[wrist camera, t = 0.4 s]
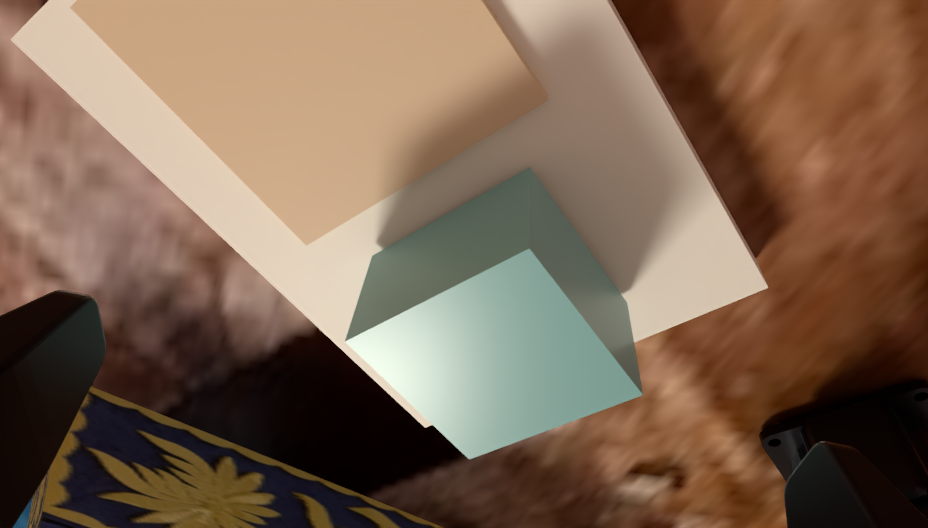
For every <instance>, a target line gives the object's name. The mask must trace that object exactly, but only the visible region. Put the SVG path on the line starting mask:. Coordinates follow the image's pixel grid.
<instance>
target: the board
mask: <svg viewBox="0 0 928 528" xmlns="http://www.w3.org/2000/svg"><path fill="white" fill-rule="evenodd" d="M11 41H12V42H13V43H15V44H16V45H17V46H18V47H19V48H20V49H21V50H22V51H23V52H24V53H25V54H26V55H27V56H28V57H29V58H31V59H32V60H33V61H34V62H35V63H36V64H37V65H38V66H39V67H40V68H41V69H42V70H43V71H44V72H45V73H47V74H48V75H49V76H50V77H51V78H52V79H53V80H54V81H55V82H56V83H57V84H58V85H59V86H60V87H62V88H63V89H64V90H65V91H66V92H67V93H68V94H69V95H70V96H71V97H72V98H73V99H74V100H75V101H76V102H78V103H79V104H80V105H81V106H82V107H83V108H84V109H85V110H86V111H87V112H88V113H89V114H90V115H91V116H92V117H94V118H95V119H96V120H97V121H98V122H99V123H100V124H101V125H102V126H103V127H104V128H105V129H106V130H107V131H109V132H110V133H111V134H112V135H113V136H114V137H115V138H116V139H117V140H118V141H119V142H120V143H121V144H122V145H123V146H125V147H126V148H127V149H128V150H129V151H130V152H131V153H132V154H133V155H134V156H135V157H136V158H137V159H138V160H139V161H141V162H142V163H143V164H144V165H145V166H146V167H147V168H148V169H149V170H150V171H151V172H152V173H153V174H154V175H156V176H157V177H158V178H159V179H160V180H161V181H162V182H163V183H164V184H165V185H166V186H167V187H168V188H169V189H170V190H172V191H173V192H174V193H175V194H176V195H177V196H178V197H179V198H180V199H181V200H182V201H183V202H184V203H185V204H186V205H188V206H189V207H190V208H191V209H192V210H193V211H194V212H195V213H196V214H197V215H198V216H199V217H200V218H201V219H203V220H204V221H205V222H206V223H207V224H208V225H209V226H210V227H211V228H212V229H213V230H214V231H215V232H216V233H217V234H219V235H220V236H221V237H222V238H223V239H224V240H225V241H226V242H227V243H228V244H229V245H230V246H231V247H232V248H233V249H235V250H236V251H237V252H238V253H239V254H240V255H241V256H242V257H243V258H244V259H245V260H246V261H247V262H248V263H249V264H251V265H252V266H253V267H254V268H255V269H256V270H257V271H258V272H259V273H260V274H261V275H262V276H263V277H264V278H266V279H267V280H268V281H269V282H270V283H271V284H272V285H273V286H274V287H275V288H276V289H277V290H278V291H279V292H280V293H282V294H283V295H284V296H285V297H286V298H287V299H288V300H289V301H290V302H291V303H292V304H293V305H294V306H295V307H296V308H298V309H299V310H300V311H301V312H302V313H303V314H304V315H305V316H306V317H307V318H308V319H309V320H310V321H311V322H313V323H314V324H315V325H316V326H317V327H318V328H319V329H320V330H321V331H322V332H323V333H324V334H325V335H326V336H327V337H329V338H330V339H331V340H332V341H333V342H334V343H335V344H336V345H337V346H338V347H339V348H340V349H341V350H342V351H343V352H345V353H346V354H347V355H348V356H349V357H350V358H351V359H352V360H353V361H354V362H355V363H356V364H357V365H358V366H360V367H361V368H362V369H363V370H364V371H365V372H366V373H367V374H368V375H369V376H370V377H371V378H372V379H373V380H374V381H376V382H377V383H378V384H379V385H380V386H381V387H382V388H383V389H384V390H385V391H386V392H387V393H388V394H389V395H390V396H392V397H393V398H394V399H395V400H396V401H397V402H398V403H399V404H400V405H401V406H402V407H403V408H404V409H405V410H407V411H408V412H409V413H410V414H411V415H412V416H413V417H414V418H415V419H416V420H417V421H418V422H419V423H420V424H421V425H423V426H424V427H425V428H426V427H429V426H431V425H432V424H431V423H430V422H429V421H428V420H427V419H426V418H425V417H424V416H423V415H422V414H420V413H419V412H418V411H417V410H416V409H415V408H414V407H413V406H412V405H411V404H410V403H409V402H408V401H407V400H406V399H405V398H404V397H403V396H402V395H400V394H399V393H398V392H397V391H396V390H395V389H394V388H393V387H392V386H391V385H390V384H389V383H388V382H387V381H386V380H385V379H384V378H383V377H381V376H380V375H379V374H378V373H377V372H376V371H375V370H374V369H373V368H372V367H371V366H370V365H369V364H368V363H367V362H366V361H365V360H364V359H362V358H361V357H360V356H359V355H358V354H357V353H356V352H355V351H354V350H353V349H352V348H351V347H350V346H349V345H348V344H347V343H346V342H345V339H346V336H347V333H348V330H349V327H350V324H351V321H352V317H353V314H354V311H355V308H356V305H357V302H358V299H359V295H360V292H361V289H362V286H363V283H364V280H365V277H366V274H367V270H368V267H369V264H370V261H371V258H372V256H373V255H375V254H376V253H378V252H380V251H382V250H383V249H385V248H387V247H389V246H391V245H392V244H394V243H396V242H398V241H399V240H401V239H403V238H405V237H407V236H408V235H410V234H412V233H414V232H415V231H417V230H419V229H421V228H423V227H424V226H426V225H428V224H430V223H431V222H433V221H435V220H437V219H439V218H440V217H442V216H444V215H446V214H447V213H449V212H451V211H453V210H455V209H456V208H458V207H460V206H462V205H463V204H465V203H467V202H469V201H471V200H472V199H474V198H476V197H478V196H479V195H481V194H483V193H485V192H487V191H488V190H490V189H492V188H494V187H495V186H497V185H499V184H501V183H503V182H504V181H506V180H508V179H510V178H511V177H513V176H515V175H517V174H519V173H520V172H522V171H524V170H526V169H527V168H529V167H530V168H531V169H532V171H533V172H534V173H535V175H536V176H537V178H538V179H539V180H540V182H541V183H542V185H543V186H544V187H545V189H546V190H547V192H548V193H549V194H550V196H551V197H552V199H553V200H554V201H555V203H556V204H557V205H558V207H559V208H560V210H561V211H562V212H563V214H564V215H565V217H566V218H567V219H568V221H569V222H570V224H571V225H572V226H573V228H574V229H575V231H576V232H577V233H578V235H579V236H580V238H581V239H582V240H583V242H584V243H585V245H586V246H587V247H588V249H589V250H590V252H591V253H592V254H593V256H594V257H595V258H596V260H597V261H598V263H599V264H600V265H601V267H602V268H603V270H604V271H605V272H606V274H607V275H608V277H609V278H610V279H611V281H612V282H613V284H614V285H615V286H616V288H617V289H618V291H619V292H620V293H621V295H622V296H623V298H624V299H625V300H626V302H627V304H628V310H629V316H630V322H631V328H632V334H633V339H634V342H637V341H639V340H642V339H644V338H646V337H649V336H651V335H654V334H656V333H659V332H661V331H664V330H666V329H669V328H671V327H673V326H676V325H678V324H681V323H683V322H686V321H688V320H691V319H693V318H695V317H698V316H700V315H703V314H705V313H708V312H710V311H713V310H715V309H717V308H720V307H722V306H725V305H727V304H730V303H732V302H735V301H737V300H740V299H742V298H744V297H747V296H749V295H752V294H754V293H757V292H759V291H762V290H764V289H766V288H768V286H767V283H766V281H765V279H764V276H763V274H762V272H761V270H760V267H759V265H758V263H757V260H756V259H755V257H754V255H753V253H752V251H751V250H750V248H749V246H748V244H747V242H746V241H745V239H744V237H743V235H742V233H741V232H740V230H739V228H738V226H737V224H736V223H735V221H734V219H733V217H732V216H731V214H730V212H729V210H728V208H727V207H726V205H725V203H724V201H723V199H722V198H721V196H720V194H719V192H718V190H717V189H716V187H715V185H714V183H713V181H712V180H711V178H710V176H709V174H708V172H707V171H706V169H705V167H704V165H703V164H702V162H701V160H700V158H699V156H698V155H697V153H696V151H695V149H694V147H693V146H692V144H691V142H690V140H689V138H688V137H687V135H686V133H685V131H684V129H683V128H682V126H681V124H680V122H679V121H678V119H677V117H676V115H675V113H674V112H673V110H672V108H671V106H670V104H669V103H668V101H667V99H666V97H665V95H664V94H663V92H662V90H661V88H660V86H659V85H658V83H657V81H656V79H655V77H654V76H653V74H652V72H651V70H650V69H649V67H648V65H647V63H646V61H645V60H644V58H643V56H642V54H641V52H640V51H639V49H638V47H637V45H636V43H635V42H634V40H633V38H632V36H631V34H630V33H629V31H628V29H627V27H626V26H625V24H624V22H623V20H622V18H621V17H620V15H619V13H618V11H617V9H616V8H615V6H614V4H613V2H612V0H49V1H48V2H47V3H46V4H45V5H44V6H43V7H42V8H41V9H40V10H39V11H38V12H37V13H36V14H35V15H34V16H33V17H32V18H31V19H30V20H29V21H28V22H27V23H26V24H25V25H24V26H23V27H22V28H21V29H20V30H19V31H18V32H17V34H16V35H15V36H14V37H13V38H12V39H11Z"/></svg>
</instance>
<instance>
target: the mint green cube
mask: <svg viewBox="0 0 928 528" xmlns="http://www.w3.org/2000/svg"><path fill="white" fill-rule="evenodd" d="M345 342H346V343H347V344H348V345H349V346H350V347H351V348H352V349H353V350H354V351H355V352H356V353H357V354H358V355H359V356H360V357H361V358H362V359H364V360H365V361H366V362H367V363H368V364H369V365H370V366H371V367H372V368H373V369H374V370H375V371H376V372H377V373H378V374H379V375H380V376H381V377H383V378H384V379H385V380H386V381H387V382H388V383H389V384H390V385H391V386H392V387H393V388H394V389H395V390H396V391H397V392H398V393H399V394H400V395H402V396H403V397H404V398H405V399H406V400H407V401H408V402H409V403H410V404H411V405H412V406H413V407H414V408H415V409H416V410H417V411H418V412H419V413H420V414H422V415H423V416H424V417H425V418H426V419H427V420H428V421H429V422H430V423H431V424H432V425H433V426H434V427H435V428H436V429H437V430H438V431H439V432H441V433H442V434H443V435H444V436H445V437H446V438H447V439H448V440H449V441H450V442H451V443H452V444H453V445H454V446H455V447H456V448H457V449H458V450H460V451H461V452H462V453H463V454H464V455H465V456H466V457H467V458H468V459H469V460H470V459H472V458H475V457H478V456H480V455H483V454H486V453H488V452H491V451H494V450H496V449H499V448H502V447H505V446H507V445H510V444H513V443H515V442H518V441H521V440H523V439H526V438H529V437H531V436H534V435H537V434H540V433H542V432H545V431H548V430H550V429H553V428H556V427H558V426H561V425H564V424H566V423H569V422H572V421H574V420H577V419H580V418H583V417H585V416H588V415H591V414H593V413H596V412H599V411H601V410H604V409H607V408H609V407H612V406H615V405H617V404H620V403H623V402H626V401H628V400H631V399H634V398H636V397H639V396H642V395H643V392H642V386H641V380H640V374H639V369H638V363H637V357H636V351H635V345H634V339H633V334H632V328H631V322H630V316H629V310H628V304H627V302H626V300H625V299H624V298H623V296H622V295H621V293H620V292H619V291H618V289H617V288H616V286H615V285H614V284H613V282H612V281H611V279H610V278H609V277H608V275H607V274H606V272H605V271H604V270H603V268H602V267H601V265H600V264H599V263H598V261H597V260H596V258H595V257H594V256H593V254H592V253H591V252H590V250H589V249H588V247H587V246H586V245H585V243H584V242H583V240H582V239H581V238H580V236H579V235H578V233H577V232H576V231H575V229H574V228H573V226H572V225H571V224H570V222H569V221H568V219H567V218H566V217H565V215H564V214H563V212H562V211H561V210H560V208H559V207H558V205H557V204H556V203H555V201H554V200H553V199H552V197H551V196H550V194H549V193H548V192H547V190H546V189H545V187H544V186H543V185H542V183H541V182H540V180H539V179H538V178H537V176H536V175H535V173H534V172H533V171H532V169H531V168H530V167H529V168H527V169H526V170H524V171H522V172H520V173H519V174H517V175H515V176H513V177H511V178H510V179H508V180H506V181H504V182H503V183H501V184H499V185H497V186H495V187H494V188H492V189H490V190H488V191H487V192H485V193H483V194H481V195H479V196H478V197H476V198H474V199H472V200H471V201H469V202H467V203H465V204H463V205H462V206H460V207H458V208H456V209H455V210H453V211H451V212H449V213H447V214H446V215H444V216H442V217H440V218H439V219H437V220H435V221H433V222H431V223H430V224H428V225H426V226H424V227H423V228H421V229H419V230H417V231H415V232H414V233H412V234H410V235H408V236H407V237H405V238H403V239H401V240H399V241H398V242H396V243H394V244H392V245H391V246H389V247H387V248H385V249H383V250H382V251H380V252H378V253H376V254H375V255H373V256H372V258H371V261H370V264H369V267H368V270H367V274H366V277H365V280H364V283H363V286H362V289H361V292H360V295H359V299H358V302H357V305H356V308H355V311H354V314H353V317H352V321H351V324H350V327H349V330H348V333H347V336H346V339H345Z"/></svg>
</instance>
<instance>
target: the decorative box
mask: <svg viewBox="0 0 928 528" xmlns="http://www.w3.org/2000/svg"><path fill="white" fill-rule="evenodd" d="M27 528H444V527H441V526H439V525H436V524H434V523H431V522H429V521H426V520H424V519H421V518H419V517H416V516H414V515H411V514H409V513H406V512H404V511H401V510H399V509H396V508H394V507H391V506H389V505H386V504H384V503H381V502H379V501H376V500H374V499H371V498H369V497H366V496H364V495H361V494H359V493H356V492H354V491H351V490H349V489H346V488H344V487H341V486H339V485H336V484H334V483H331V482H329V481H326V480H324V479H321V478H319V477H316V476H314V475H311V474H309V473H306V472H304V471H301V470H299V469H296V468H294V467H291V466H289V465H286V464H284V463H281V462H279V461H276V460H274V459H271V458H269V457H266V456H264V455H261V454H259V453H256V452H254V451H251V450H249V449H246V448H244V447H241V446H239V445H236V444H234V443H231V442H229V441H226V440H224V439H221V438H219V437H216V436H214V435H211V434H209V433H206V432H204V431H201V430H199V429H196V428H194V427H191V426H189V425H186V424H184V423H181V422H179V421H176V420H174V419H171V418H169V417H166V416H164V415H161V414H159V413H156V412H154V411H151V410H149V409H146V408H144V407H141V406H139V405H136V404H134V403H131V402H129V401H126V400H124V399H121V398H119V397H116V396H114V395H111V394H109V393H106V392H104V391H101V390H99V389H96V388H94V387H90V389H89V391H88V393H87V395H86V397H85V399H84V401H83V403H82V405H81V407H80V409H79V411H78V413H77V415H76V417H75V419H74V421H73V423H72V425H71V427H70V429H69V431H68V433H67V435H66V437H65V439H64V441H63V443H62V445H61V447H60V449H59V451H58V453H57V455H56V457H55V459H54V461H53V463H52V465H51V467H50V468H49V470H48V472H47V474H46V475H45V477H44V479H43V480H42V482H41V484H40V485H39V487H38V489H37V490H36V492H35V493H34V495H33V500H32V505H31V510H30V516H29V521H28V527H27Z"/></svg>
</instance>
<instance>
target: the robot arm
mask: <svg viewBox="0 0 928 528" xmlns="http://www.w3.org/2000/svg"><path fill="white" fill-rule="evenodd" d="M105 353H106V340H105V335H104V330H103V325H102V320H101V316H100V311H99V306H98V303H97V301H96V300H95V298H94V297H92V296H90V295H86V294H81V293H76V292H71V291H66V290H58V291H54V292H51V293H49V294H47V295H44V296H42V297H40V298H38V299H36V300H34V301H31V302H29V303H27V304H25V305H23V306H20V307H18V308H16V309H14V310H12V311H10V312H7V313H5V314H3V315H1V316H0V528H13V526H14V525H15V523H16V521H17V520H18V518H19V517H20V515H21V514H22V512H23V511H24V509H25V507H26V506H27V504H28V503H29V501H30V500H31V498H32V497H33V495H34V493H35V492H36V490H37V489H38V487H39V485H40V484H41V482H42V480H43V479H44V477H45V475H46V474H47V472H48V470H49V468H50V467H51V465H52V463H53V461H54V459H55V457H56V455H57V453H58V451H59V449H60V447H61V445H62V443H63V441H64V439H65V437H66V435H67V433H68V431H69V429H70V427H71V425H72V423H73V421H74V419H75V417H76V415H77V413H78V411H79V409H80V407H81V405H82V403H83V401H84V399H85V397H86V395H87V393H88V391H89V389H90V387H91V385H92V383H93V381H94V379H95V377H96V375H97V373H98V371H99V369H100V367H101V365H102V363H103V360H104V357H105ZM759 437H760V440H761V443H762V446H763V448H764V449H765V451H766V452H767V454H768V455H769V457H770V458H771V460H772V461H773V463H774V464H775V466H776V467H777V469H778V470H779V471H780V473H781V474H782V476H783V477H784V479H785V480H786V482H787V483H786V486H785V493H784V498H785V508H786V517H787V527H788V528H928V381H925V380H915V381H911V382H908V383H905V384H902V385H899V386H896V387H893V388H890V389H886V390H883V391H880V392H877V393H874V394H871V395H868V396H865V397H862V398H859V399H856V400H852V401H849V402H846V403H843V404H840V405H837V406H834V407H831V408H828V409H825V410H822V411H819V412H815V413H812V414H809V415H806V416H803V417H800V418H797V419H794V420H791V421H788V422H785V423H781V424H778V425H775V426H772V427H769V428H766V429H764V430H763V431H762V432H761V433H760V435H759Z"/></svg>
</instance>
